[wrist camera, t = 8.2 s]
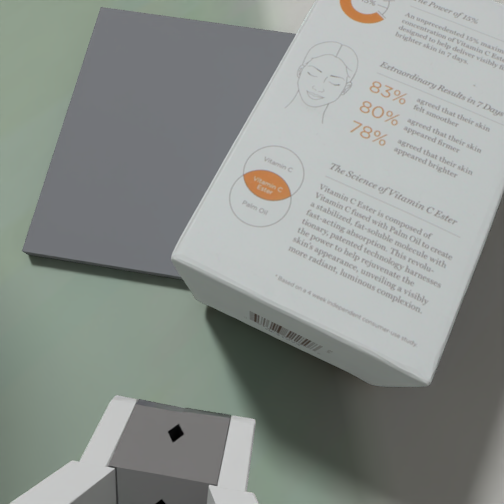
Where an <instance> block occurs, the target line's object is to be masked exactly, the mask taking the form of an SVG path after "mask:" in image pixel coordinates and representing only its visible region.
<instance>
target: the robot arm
mask: <svg viewBox="0 0 504 504" xmlns="http://www.w3.org/2000/svg"><path fill="white" fill-rule="evenodd" d="M255 424H256V422H255V419H251V418H245V417H239V416H233V415H232V417H231V415H229V414H222V413H216V412H210V411H203V410H197V409H191V408H181V407H176V406H171V405H166V404H161V403H156V402H151V401H146V400H141V399H134V398H129V397H123V396H118V395H116V396H115V397H114V398H113V399H112V400H111V401H110V403H109V405H108V407H107V409H106V410H105V412H104V414H103V416H102V418H101V420H100V422H99V424H98V426H97V428H96V430H95V432H94V434H93V436H92V438H91V440H90V441H89V443H88V445H87V447H86V449H85V451H84V453H83V455H82V457H81V459H80V461H70V462H69V463H67V464H66V465H65V466H63V467H62V468H60V469H59V470H57V471H56V472H54V473H53V474H51V475H50V476H49V477H47V478H46V479H44V480H43V481H41V482H40V483H38V484H37V485H35V486H34V487H33V488H31V489H30V490H28V491H27V492H25V493H24V494H22V495H21V496H19V497H18V498H17V499H15V500H14V501H12V502H11V503H9V504H259V502H258V500H257V498H256V496H255V494H254V493H251V492H247V485H248V477H249V470H250V462H251V455H252V447H253V439H254V432H255Z"/></svg>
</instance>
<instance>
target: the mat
mask: <svg viewBox="0 0 504 504" xmlns="http://www.w3.org/2000/svg"><path fill="white" fill-rule="evenodd" d="M295 36H296V34H292V33H285V32H278V31H270V30H263V29H256V28H249V27H241V26H234V25H227V24H220V23H212V22H205V21H198V20H191V19H183V18H176V17H169V16H161V15H154V14H147V13H140V12H132V11H125V10H118V9H111V8H103V7H101V8H100V11H99V14H98V18H97V21H96V24H95V27H94V30H93V33H92V36H91V39H90V42H89V45H88V48H87V52H86V55H85V58H84V61H83V64H82V67H81V70H80V73H79V76H78V79H77V83H76V86H75V89H74V92H73V95H72V98H71V101H70V104H69V107H68V110H67V113H66V117H65V120H64V123H63V126H62V129H61V132H60V135H59V138H58V141H57V144H56V147H55V151H54V154H53V157H52V160H51V163H50V166H49V169H48V172H47V175H46V178H45V181H44V185H43V188H42V191H41V194H40V197H39V200H38V203H37V206H36V209H35V212H34V215H33V219H32V222H31V225H30V228H29V231H28V234H27V237H26V240H25V243H24V246H23V250H22V251H23V252H24V253H26V254H28V255H34V256H40V257H47V258H53V259H59V260H65V261H71V262H77V263H83V264H90V265H96V266H102V267H108V268H114V269H120V270H126V271H133V272H139V273H145V274H151V275H157V276H163V277H169V278H176V279H182V278H181V276H180V275H179V273H178V271H177V270H176V268H175V266H174V265H173V263H172V260H171V256H172V253H173V251H174V249H175V247H176V245H177V243H178V241H179V239H180V237H181V235H182V233H183V232H184V230H185V228H186V226H187V224H188V223H189V221H190V219H191V217H192V215H193V214H194V212H195V210H196V208H197V207H198V205H199V203H200V202H201V200H202V198H203V196H204V195H205V193H206V191H207V189H208V188H209V186H210V184H211V182H212V180H213V179H214V177H215V175H216V173H217V172H218V170H219V168H220V166H221V165H222V163H223V161H224V159H225V157H226V156H227V154H228V152H229V150H230V149H231V147H232V145H233V143H234V142H235V140H236V138H237V136H238V135H239V133H240V131H241V130H242V128H243V126H244V124H245V123H246V121H247V119H248V117H249V116H250V114H251V112H252V110H253V109H254V107H255V105H256V104H257V102H258V100H259V98H260V97H261V95H262V93H263V92H264V90H265V88H266V86H267V85H268V83H269V81H270V79H271V78H272V76H273V74H274V72H275V71H276V69H277V67H278V65H279V64H280V62H281V60H282V58H283V57H284V55H285V53H286V51H287V50H288V48H289V46H290V44H291V43H292V41H293V39H294V37H295ZM182 280H183V279H182Z"/></svg>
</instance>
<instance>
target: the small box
mask: <svg viewBox="0 0 504 504" xmlns="http://www.w3.org/2000/svg"><path fill="white" fill-rule="evenodd" d="M503 194H504V4H502V3H500V2H497V1H494V0H316V1H315V2H314V4H313V6H312V8H311V9H310V11H309V13H308V15H307V16H306V18H305V20H304V22H303V23H302V25H301V27H300V29H299V30H298V32H297V34H296V36H295V37H294V39H293V41H292V43H291V44H290V46H289V48H288V50H287V51H286V53H285V55H284V57H283V58H282V60H281V62H280V64H279V65H278V67H277V69H276V71H275V72H274V74H273V76H272V78H271V79H270V81H269V83H268V85H267V86H266V88H265V90H264V92H263V93H262V95H261V97H260V98H259V100H258V102H257V104H256V105H255V107H254V109H253V110H252V112H251V114H250V116H249V117H248V119H247V121H246V123H245V124H244V126H243V128H242V130H241V131H240V133H239V135H238V136H237V138H236V140H235V142H234V143H233V145H232V147H231V149H230V150H229V152H228V154H227V156H226V157H225V159H224V161H223V163H222V165H221V166H220V168H219V170H218V172H217V173H216V175H215V177H214V179H213V180H212V182H211V184H210V186H209V188H208V189H207V191H206V193H205V195H204V196H203V198H202V200H201V202H200V203H199V205H198V207H197V208H196V210H195V212H194V214H193V215H192V217H191V219H190V221H189V223H188V224H187V226H186V228H185V230H184V232H183V233H182V235H181V237H180V239H179V241H178V243H177V245H176V247H175V249H174V251H173V253H172V256H171V260H172V263H173V265H174V266H175V268H176V270H177V271H178V273H179V275H180V276H181V278H182V279H183V280H184V282H185V283H186V285H187V286H188V288H189V289H190V291H191V292H192V294H193V296H194V297H195V299H196V300H198V301H200V302H202V303H203V304H206V305H208V306H210V307H213V308H215V309H217V310H219V311H221V312H223V313H225V314H227V315H229V316H231V317H233V318H236V319H238V320H240V321H242V322H244V323H246V324H248V325H250V326H252V327H254V328H256V329H258V330H260V331H262V332H265V333H267V334H269V335H271V336H273V337H275V338H277V339H279V340H281V341H283V342H285V343H288V344H290V345H292V346H294V347H296V348H298V349H300V350H302V351H304V352H306V353H309V354H311V355H313V356H315V357H317V358H319V359H321V360H323V361H325V362H328V363H330V364H332V365H334V366H336V367H338V368H340V369H342V370H344V371H346V372H348V373H350V374H352V375H354V376H356V377H357V378H359V379H361V380H363V381H365V382H367V383H368V384H370V385H373V386H383V387H424V386H429V385H430V384H431V382H432V380H433V377H434V375H435V372H436V370H437V367H438V365H439V362H440V359H441V357H442V354H443V352H444V349H445V346H446V344H447V341H448V339H449V336H450V333H451V331H452V328H453V325H454V322H455V320H456V317H457V314H458V312H459V309H460V307H461V304H462V302H463V299H464V296H465V294H466V291H467V289H468V286H469V284H470V281H471V279H472V276H473V274H474V271H475V269H476V266H477V264H478V261H479V258H480V256H481V253H482V250H483V248H484V245H485V242H486V240H487V237H488V234H489V232H490V229H491V226H492V224H493V221H494V218H495V215H496V213H497V210H498V207H499V204H500V202H501V199H502V196H503Z"/></svg>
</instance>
